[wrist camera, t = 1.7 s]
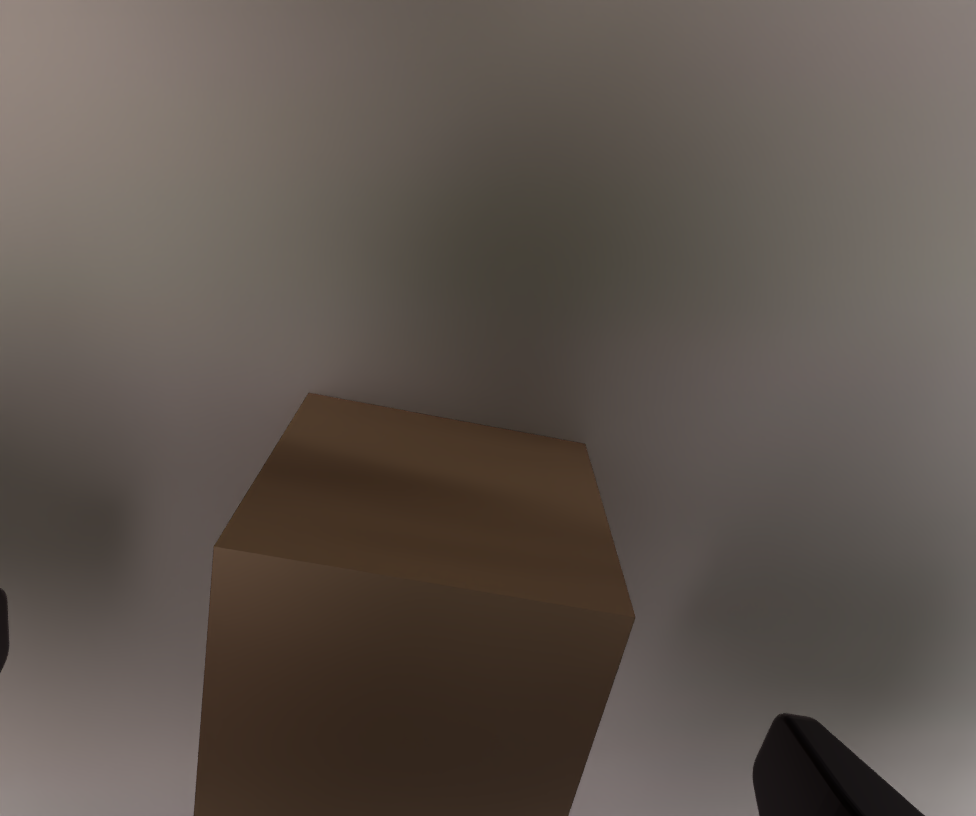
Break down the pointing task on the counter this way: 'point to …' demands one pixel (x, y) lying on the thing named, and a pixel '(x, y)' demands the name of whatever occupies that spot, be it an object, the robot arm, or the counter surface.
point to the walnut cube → (409, 622)
